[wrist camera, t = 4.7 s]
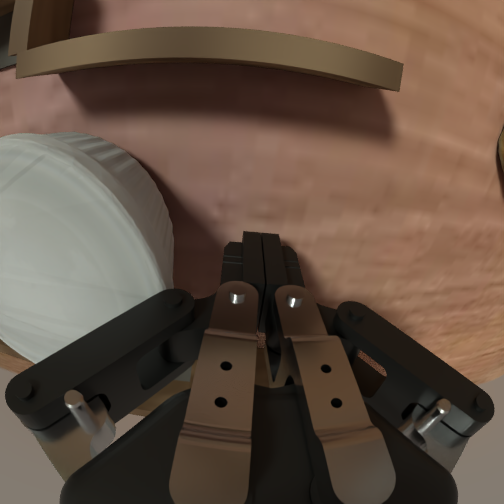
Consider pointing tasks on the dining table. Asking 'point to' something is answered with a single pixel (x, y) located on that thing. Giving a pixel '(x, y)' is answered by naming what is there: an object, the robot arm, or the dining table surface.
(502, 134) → the pastry
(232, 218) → the dining table surface
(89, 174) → the ramekin
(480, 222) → the dining table surface
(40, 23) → the box
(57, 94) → the dining table surface
